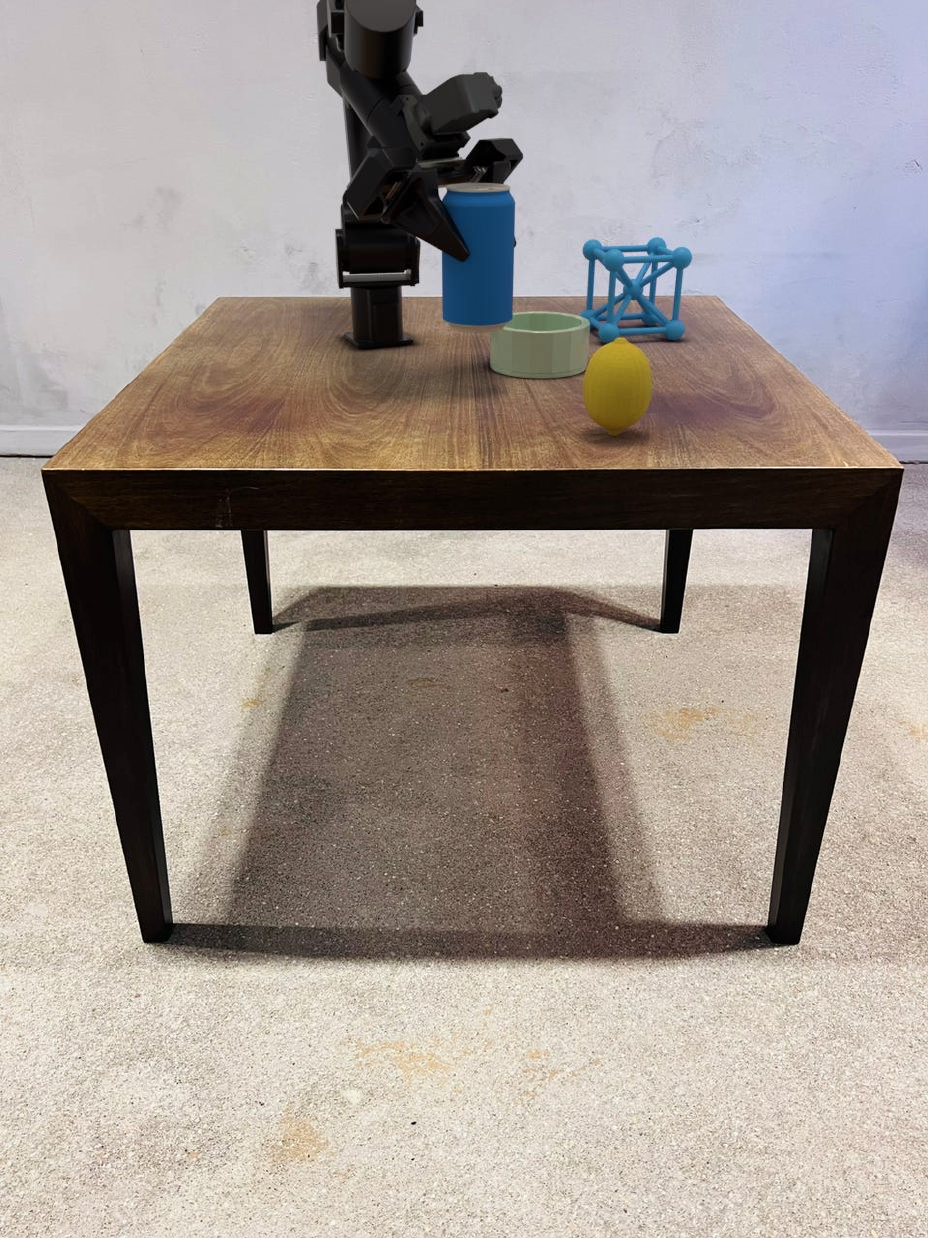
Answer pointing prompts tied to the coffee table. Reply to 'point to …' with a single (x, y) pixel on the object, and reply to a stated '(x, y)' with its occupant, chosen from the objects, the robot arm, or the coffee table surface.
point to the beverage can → (480, 258)
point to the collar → (541, 345)
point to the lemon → (617, 386)
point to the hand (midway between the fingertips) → (489, 253)
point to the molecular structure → (635, 288)
